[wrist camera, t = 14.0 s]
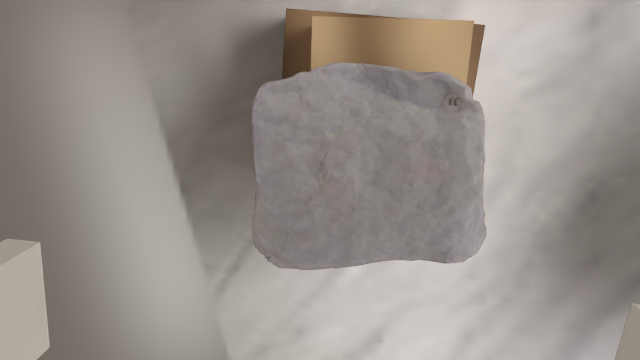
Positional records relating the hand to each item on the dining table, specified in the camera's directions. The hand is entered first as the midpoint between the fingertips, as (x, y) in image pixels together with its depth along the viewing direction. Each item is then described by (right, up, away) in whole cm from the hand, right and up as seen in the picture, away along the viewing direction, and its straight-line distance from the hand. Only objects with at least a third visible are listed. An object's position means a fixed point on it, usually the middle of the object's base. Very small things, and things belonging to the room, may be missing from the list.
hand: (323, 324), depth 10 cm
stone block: (+2, +5, +14) cm, 15 cm away
